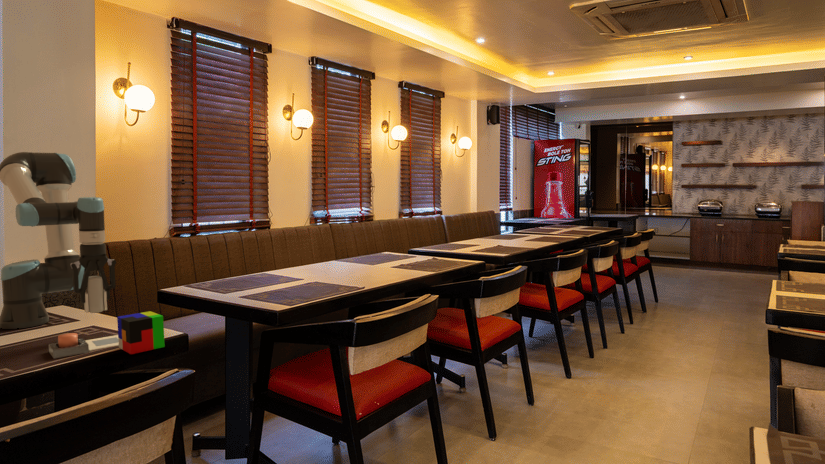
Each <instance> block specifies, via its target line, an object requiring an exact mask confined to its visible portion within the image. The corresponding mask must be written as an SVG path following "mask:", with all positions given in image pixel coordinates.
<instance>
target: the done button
mask: <svg viewBox="0 0 825 464" xmlns="http://www.w3.org/2000/svg"><path fill="white" fill-rule="evenodd" d="M78 337H79V335H78V333H77V332H70V333H69V332H67V333H62V334H60V335H58V336H57V343H58V344H59V348H63V347H69V346H75V345H78V339H79V338H78Z"/></svg>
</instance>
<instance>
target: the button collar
mask: <svg viewBox="0 0 825 464" xmlns="http://www.w3.org/2000/svg"><path fill="white" fill-rule="evenodd" d="M48 353H49V354H50V356H51V357H52V359H54V360H55V359H60V358H65V357H72V356H76V355H77V356H78V355H81V354H83V355H84V354H88V353H90V351H89V346H88V343H87V342H86V341H85V339H84V338H83V337H82V338H78V345H75V346H69V347H63V348H59V344H58V342H53V343H48Z"/></svg>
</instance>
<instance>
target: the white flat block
mask: <svg viewBox="0 0 825 464" xmlns="http://www.w3.org/2000/svg"><path fill="white" fill-rule="evenodd" d="M84 340H85V339H84ZM85 341H86V342H87V343H88V346H89V352H91V351H97V350H101V349H102V350H104V349H107V348H113V347H114V348H115V347H119V340H118V334H116V335H115V334H114V335H109V336H103V337H98V338H93V339H86V340H85Z"/></svg>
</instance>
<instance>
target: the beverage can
mask: <svg viewBox="0 0 825 464" xmlns="http://www.w3.org/2000/svg"><path fill="white" fill-rule="evenodd" d="M103 290H104V286H103V280H102V277H101V276H100V275H91V276H90V275H89V278H88V283H87V287H86V292H87V293H88V305H89V313H90V314H96V313H97V314H98V313H102V312H103V311H105V310H104V297H103Z"/></svg>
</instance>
